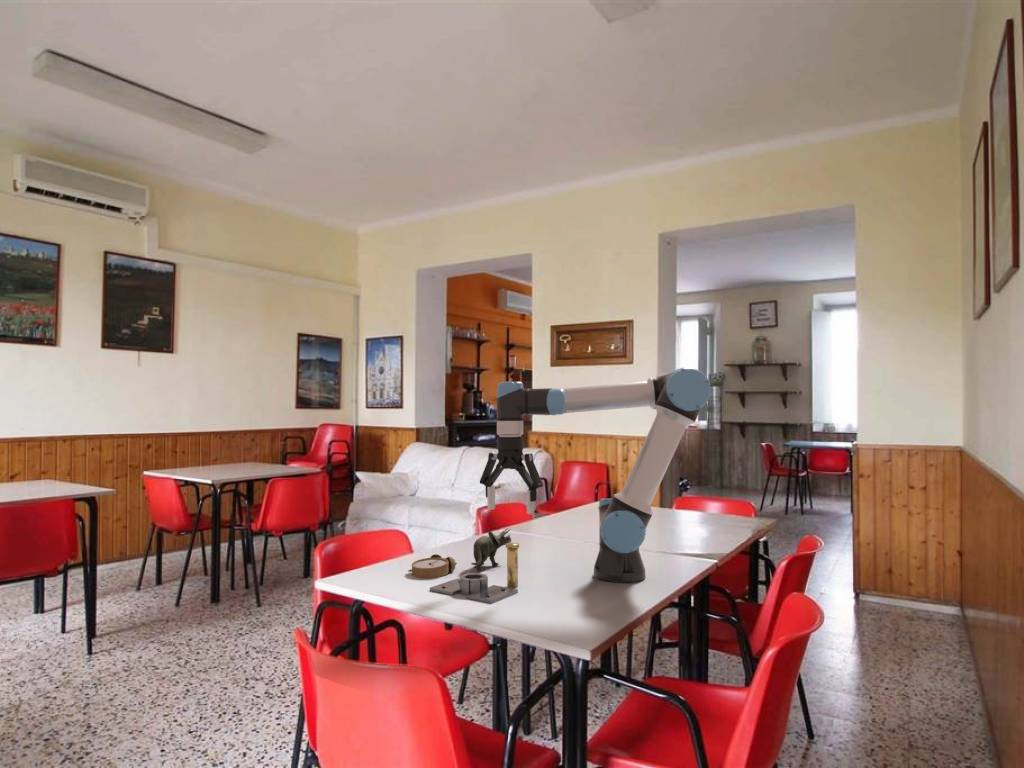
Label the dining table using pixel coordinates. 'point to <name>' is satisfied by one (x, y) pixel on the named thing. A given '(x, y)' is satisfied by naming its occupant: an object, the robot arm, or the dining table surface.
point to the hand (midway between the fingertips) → (510, 511)
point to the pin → (512, 565)
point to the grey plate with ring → (474, 588)
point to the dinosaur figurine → (489, 548)
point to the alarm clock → (432, 567)
